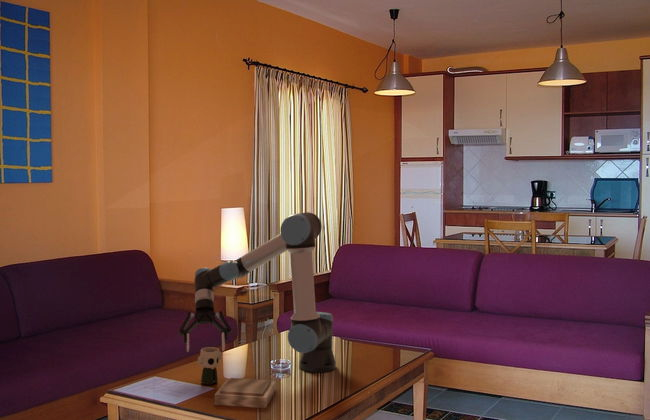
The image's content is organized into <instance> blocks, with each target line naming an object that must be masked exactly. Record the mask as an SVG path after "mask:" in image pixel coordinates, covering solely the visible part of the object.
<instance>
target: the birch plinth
mask: <svg viewBox="0 0 650 420" xmlns="http://www.w3.org/2000/svg"><path fill="white" fill-rule="evenodd" d="M275 392H276V381H275V380H271V379H260V378H259V379H257V378H256V379H255V378H242V377H238V378H237V377H229V378H227V379H225V381H224V382H223V384H221V386H220V387H219V389H217V391H216V392H215V394H214V405H215V406H227V407H228V406H229V407H241V408H242V407H243V408H246V407H247V408H260V409H266V408H267V407H268V405H269V403H270V402H271V400H272V397H273V396H274V394H275Z"/></svg>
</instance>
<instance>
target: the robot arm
mask: <svg viewBox="0 0 650 420" xmlns="http://www.w3.org/2000/svg"><path fill="white" fill-rule="evenodd" d="M321 232H322V221H321V220H320V218H319V216H318V215H316V214H315V213H314V212H313V213H312V212H309V211H307V212H299V213H293V214H291V215H289V216H286V218H285V219H284V220H283V221H282V222H281V225H280V233H279V234H277V235H275V236H274V237H272V238H271V239H269V240H267V241H265V242H264V243H262V244H261V245H259V246H257V247H256V248H254V249H252V250H251V251H249V252H247V253H245V254H244V255H242V256H240V257H239V258H237V259H235V260H234V261H233V260H228V261H226V262H223V263H221V264H219V265H217V266H215V267H213V268H209V267H203V268H202V267H200V268H198V269H197V270H196V271H195V272H194V290H195V291H194V303H195V304H194V305H195V308H194V309H195V312H194V313H193V312H192V311H187V316H186V317H185V319H184V321H183V323H182V325H181V327H180V328H179V331H178V335H179V336H183V344H186V352H187V353H188V352H190V333H191V332H192V331H193V330H194V329H195V328H196V327H197V326H198V325H199V324H201V325H204V324H206V325H209V324H211V325H212V326H214V327H215V329H217V330H218V331H219V332H220V333H221V348H222V349H221V350H222V351H225V349H226V343H227V342H228V335H231V333H232V328H231V326H230V324H229V323H228V321H227V320H226V319H225V317H224V315H223V311H222V310H220V311H219V312H215V302H214V301H215V300H214V299H215V296H214V289H215V288H218V287H220V286H222V285H223V284H226V283H228V282H231V281H235V280H237V279H241V278H244V277H246V276H248V275H249V274H250V272H252V271H254V270H256V269H257V268H260V267H261V266H263V265H265V264H266V263H268V262H270V261H271V260H273V259H275V258H277V257H279V256H280V255H281V254H283V253H285V252H287V251H288V252H289V254H290V255H289V258H290V269H291V284H292V287H291V288H292V299H293V300H292V301H293V314H292V315H291V317H290V328H289V330H288V333H287V341H288V344H289V346H290V347H291V348H292V349H293V350H294V351H295V352H297V353H301V357H300V358H299V365H298V366H299V368H300V370H302V371H304V372H307V373H308V372H309V373H310V372H311V373H328V372H332V371H334V370H336V368H337V361H336V357H335V355H334V352H333V333H334V332H333V330H334V329H333V326H334V317H333V314H332V313H329V312H323V311H317V309H316V294H315V280H314V266H313V265H314V263H313V262H314V261H313V251H314V249H315V248H316V239H317V238H318V237H319V236H320V234H321ZM216 317H217V318H218V319H219V321H220V322H219V321H218V320H217V319H216ZM193 318H195V319H194V321H192V322H191V324H190V325H189V323H190V321H191V320H192V319H193ZM222 351H221V352H222Z"/></svg>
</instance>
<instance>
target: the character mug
mask: <svg viewBox="0 0 650 420" xmlns="http://www.w3.org/2000/svg"><path fill="white" fill-rule="evenodd" d="M222 355H223V353H222V351H220V348H218V347H215V346H209V347H202V348H201V349H200V356H198V357H197V365H198V366H200V367H202V373H201V378H200V379H201V381H200V382H201V383H202V384H205V385H214V382H215V384H217V383H218V382H219V381H218V380H219V379H218V370H217V369H218V368H217V367H219V365H220V362H221V361H222V358H223V357H222Z"/></svg>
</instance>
